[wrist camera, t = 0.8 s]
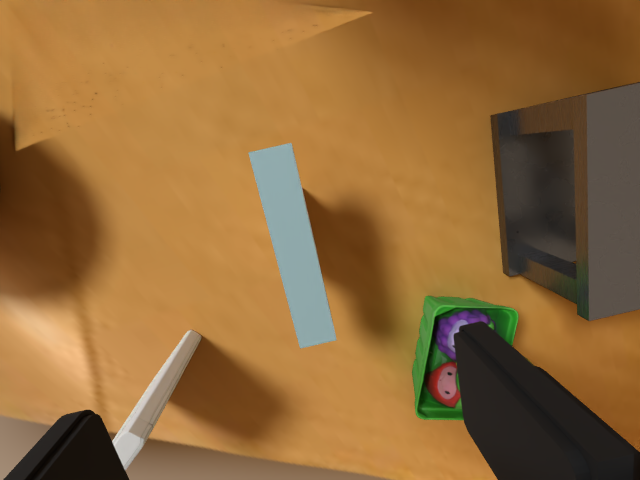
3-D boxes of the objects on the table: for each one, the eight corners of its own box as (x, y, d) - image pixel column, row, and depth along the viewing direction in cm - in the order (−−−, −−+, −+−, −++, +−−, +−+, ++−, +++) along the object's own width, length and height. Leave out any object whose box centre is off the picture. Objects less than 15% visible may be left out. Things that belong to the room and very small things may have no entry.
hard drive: (203, 336, 32) (149, 442, 20) (160, 396, 34) (84, 528, 22) (189, 327, 32) (124, 429, 20) (145, 388, 33) (60, 518, 21)
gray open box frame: (490, 115, 29) (586, 94, 19) (627, 84, 29) (791, 48, 20) (503, 272, 33) (589, 321, 23) (624, 244, 33) (760, 281, 23)
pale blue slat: (264, 153, 29) (248, 152, 19) (293, 147, 29) (291, 143, 19) (299, 290, 32) (300, 348, 22) (324, 284, 32) (336, 340, 22)
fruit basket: (414, 282, 33) (473, 345, 22) (500, 287, 33) (598, 351, 22) (397, 382, 35) (442, 484, 24) (477, 385, 36) (555, 485, 25)
